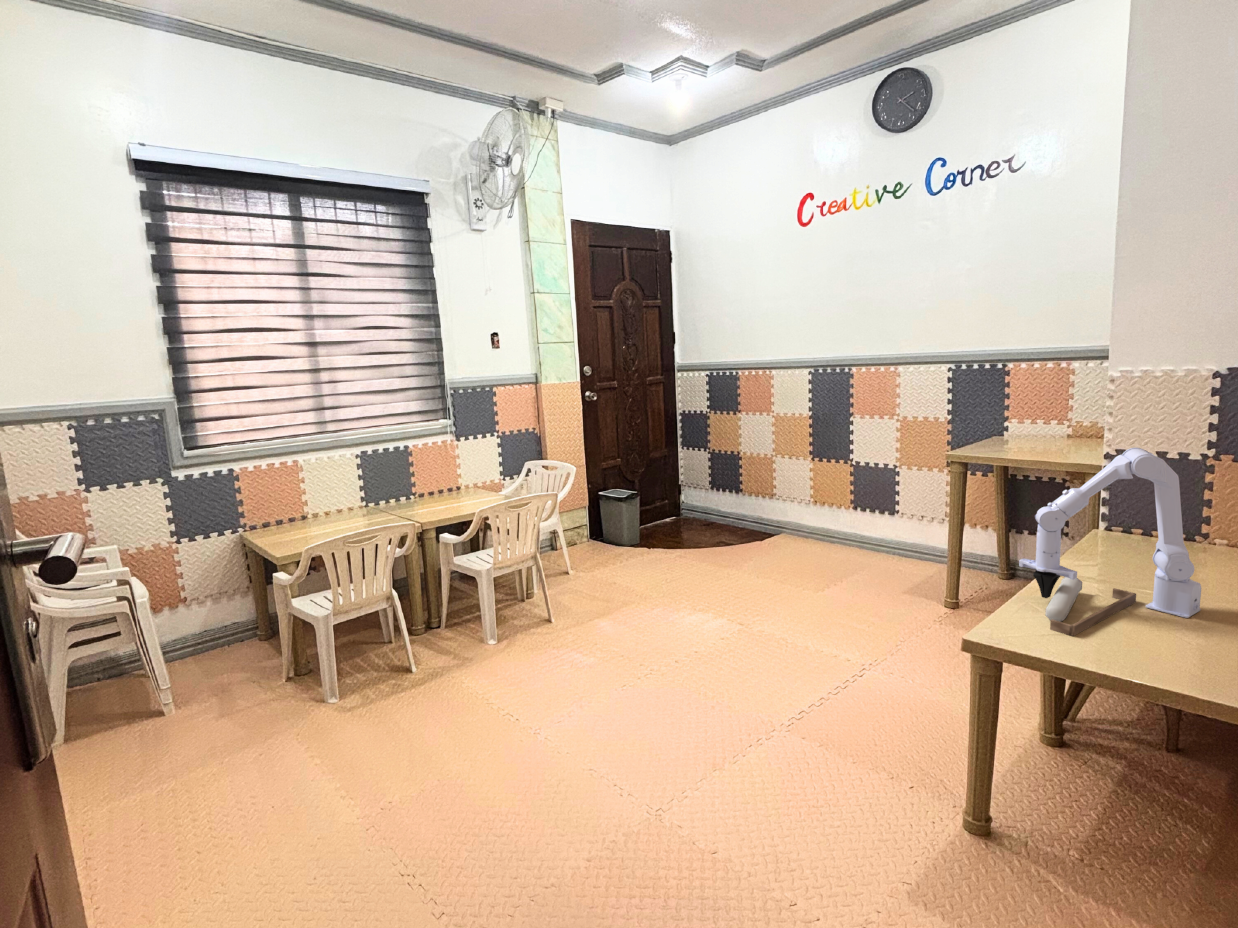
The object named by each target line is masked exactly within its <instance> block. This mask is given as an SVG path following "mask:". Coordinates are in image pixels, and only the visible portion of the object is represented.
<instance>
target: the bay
mask: <svg viewBox="0 0 1238 928" xmlns="http://www.w3.org/2000/svg"><path fill="white" fill-rule="evenodd" d="M1111 597H1112V598H1115V599H1118V600H1117V601H1114V602H1113V603H1110V604H1109V605H1107V606H1105V607H1103V608H1101V609H1099V610H1098V611H1096V612H1094V613H1092V614H1090V615H1087V616H1085V617H1084V618H1082V619H1080V620H1079V621H1077V622H1075V623H1072V624H1070V623H1065V622H1063V621H1062V622H1059V621H1056V620H1053V619H1052V620H1050V624H1049V625H1050V626H1049V627H1050V628H1049V629H1050V630H1051V631H1055V632H1057V633H1060V634H1063V633H1064V634H1065V635H1067V636H1070V637H1074V636H1076V635H1078V634H1080V633H1081V632H1083V631H1085V630H1087V629H1089V628H1091V627H1093V626H1095V625H1096V624H1098V623H1100V622H1102V621H1104V620H1106V619H1107V618H1110V617H1111V616H1113V615H1114V614H1117V613H1119V612H1120V611H1122V610H1124V609H1126V608H1127V607H1130V606H1131V605H1133V604H1135V603H1136V602H1137V593H1135V592H1132V591H1127V590H1123V589H1119V588H1116V587H1114V588H1112V595H1111ZM1077 633H1078V634H1077Z"/></svg>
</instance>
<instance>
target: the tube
mask: <svg viewBox="0 0 1238 928" xmlns="http://www.w3.org/2000/svg"><path fill="white" fill-rule="evenodd" d="M1082 589H1083V581H1082V580H1081V579H1079V578H1078V577H1077V578H1076V579H1074V580H1072V579H1069V578H1068V577H1064V578H1062V579H1061V582H1060V584H1059V586H1058V588H1057V589H1056V590H1055V592H1054V595H1053V596H1052V597H1051V600H1050V601H1049V603H1048V604H1047V606H1046V608H1045V617H1047V618H1048V619H1049V620H1050V621H1051V620H1052V619H1053V620H1056V621H1059V622H1063V621H1064V620H1065V619H1067V618H1068V615H1069V613H1070V611H1071V609H1072V607H1073V606H1074V603H1075V601H1076V600H1077V598H1078V595H1079V593H1080V592H1081V591H1082Z"/></svg>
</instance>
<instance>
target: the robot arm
mask: <svg viewBox="0 0 1238 928" xmlns="http://www.w3.org/2000/svg"><path fill="white" fill-rule="evenodd" d="M1133 475H1135V476H1136V477H1138V478H1140V479H1141V478H1142V479H1145V480H1149V481H1150V482H1152V483H1153V485H1154V487H1153V488H1154V498H1155V499H1154V500H1155V511H1156V522H1157V525H1156V526H1157V535H1158V536H1157V537H1158V540H1157V542H1156V543H1155V550H1154V553H1153V555H1152V563H1153V564H1154V565H1155V566H1156V570H1155V572H1154V580H1153V581H1154V582H1153V593H1152V601H1151V602H1149V603H1148V604H1145V608H1147V609H1151V610H1155V611H1159V612H1162V613H1166V614H1169V615H1174V616H1178V617H1182V618H1185V619H1187V618H1188V619H1189V618H1190V617H1191V616H1194V615H1195V614H1197V613H1199V612H1200V611H1201V608H1200V607H1201V597H1202V585H1201V583H1200V582H1198V581H1195V580H1193V579H1191V577H1193V575H1194V574H1195V565H1194V563H1193V562H1192V561H1191V559H1190V554H1189V551H1188V549H1187V546H1186V545H1185V543H1184V529H1183V517H1182V505H1181V504H1182V503H1181V489H1180V478H1179V475H1178V474H1177V473H1176V472H1175V471H1174V470H1173V469H1172V467H1170V465H1168V463H1167V462H1166V461H1165V460H1164V459H1162V458H1161V457H1159V456H1156V455H1155V454H1153V453H1152V452H1150V451H1148V450H1145V449H1143V448H1140V447H1130V448H1127V449H1126V450H1125V451H1123V453H1122V454H1119V455H1117V456H1115V457H1114V458H1113V459H1112V461H1110V462H1109V463H1108V464H1107V465H1106V466H1105V467H1103V468H1102V469H1101V470H1100V471H1099V472H1097V473H1096V474H1095V475H1094V476H1092V477H1091V478H1090V479H1088V480H1087V481H1086V482H1085V483H1084V484H1083V485H1082V486H1080V487H1076V488H1075V487H1072V488H1070V489H1064V490H1063V491H1062V494H1061V495H1060V496H1059V497H1057V498H1056V499H1055V500H1053V501H1052V502H1048V503H1047V506H1043V507H1042V506H1041V508H1039V509H1038V510H1037V511H1036V514H1035V515H1034V519H1035V521H1036V522H1037V532H1036V541H1035V542H1036V543H1035V544H1036V545H1035V546H1036V547H1035V549H1036V550H1035V559H1028V558H1020V559H1019V561H1018V566H1019V567H1021V568H1029V569H1032V570H1035V571H1033V573H1032V575H1033V577H1034V578H1035V581H1036V582H1037V585H1038V587H1039V591H1040V595H1041V597H1042V598H1043V599H1048V598H1050V597H1051V595H1052V593H1053V590H1054V588H1055V586H1056V584H1057V582H1058V580H1059V579H1060V578H1061V577H1064V578H1065V577H1068V578H1069V579H1072V580H1074V579H1076V578H1078V571H1077V570H1074V569H1071V568H1068V567H1065V566H1063V565H1061V548H1062V534H1061V533H1062V529H1063V528H1064V527H1065V525H1066V521H1067V520H1069V519H1070V518H1072V517H1073V516H1074V515H1076V514H1077V513H1079V512H1080V511H1081V510H1083V509H1085V508H1086V507H1087V506H1089V504H1090V503H1089V502H1090V498H1091V497H1092V496H1095V495H1096V494H1097V493H1099V492H1101V490H1103V489H1105V488H1107V487H1108V486H1109V485H1111V484H1112V483H1114V482H1115V481H1117V480H1130V479H1134V477H1133Z"/></svg>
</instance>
